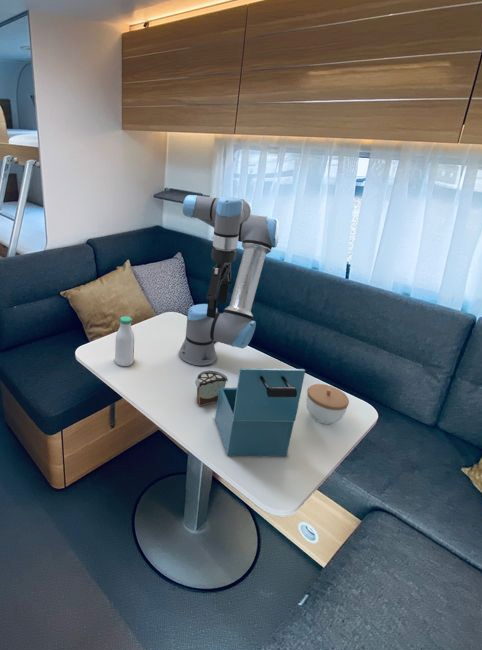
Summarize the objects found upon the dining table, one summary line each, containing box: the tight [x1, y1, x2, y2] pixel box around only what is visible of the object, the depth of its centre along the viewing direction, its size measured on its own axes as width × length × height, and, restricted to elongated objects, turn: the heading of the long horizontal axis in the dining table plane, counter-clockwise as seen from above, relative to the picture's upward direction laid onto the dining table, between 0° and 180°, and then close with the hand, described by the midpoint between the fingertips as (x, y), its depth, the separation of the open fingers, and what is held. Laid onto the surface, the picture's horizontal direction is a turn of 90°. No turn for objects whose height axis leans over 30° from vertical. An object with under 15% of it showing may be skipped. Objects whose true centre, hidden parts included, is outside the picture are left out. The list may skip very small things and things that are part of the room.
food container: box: [194, 370, 229, 407], centre depth 147 cm, size 12×6×10 cm, turn 111°
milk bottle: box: [114, 315, 135, 367], centre depth 166 cm, size 8×8×20 cm
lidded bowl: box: [305, 383, 350, 425], centre depth 139 cm, size 13×13×11 cm
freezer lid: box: [233, 367, 306, 422], centre depth 112 cm, size 17×18×9 cm
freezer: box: [214, 387, 295, 457], centre depth 128 cm, size 16×18×13 cm
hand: (216, 309), depth 135 cm, fingers open, 13 cm apart
